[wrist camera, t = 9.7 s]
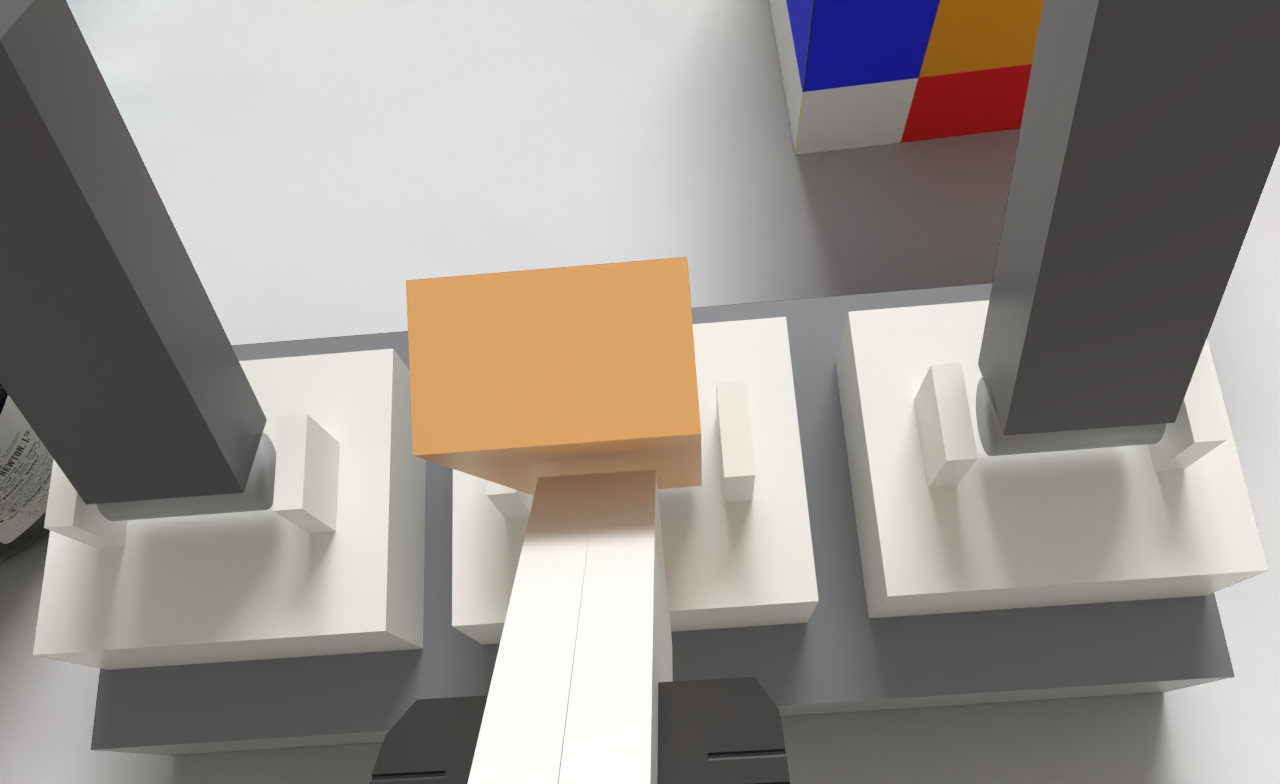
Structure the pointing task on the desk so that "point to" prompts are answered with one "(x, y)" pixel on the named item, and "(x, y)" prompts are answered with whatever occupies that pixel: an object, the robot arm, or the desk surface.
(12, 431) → the ink bottle
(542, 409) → the lever
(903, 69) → the puzzle toy
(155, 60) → the desk surface
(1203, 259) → the block
